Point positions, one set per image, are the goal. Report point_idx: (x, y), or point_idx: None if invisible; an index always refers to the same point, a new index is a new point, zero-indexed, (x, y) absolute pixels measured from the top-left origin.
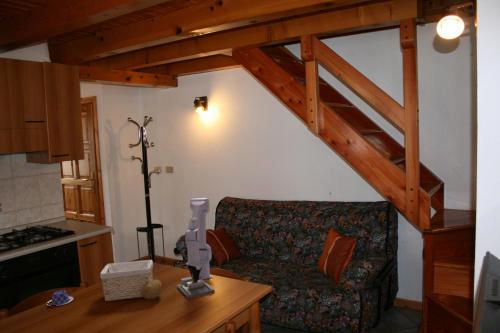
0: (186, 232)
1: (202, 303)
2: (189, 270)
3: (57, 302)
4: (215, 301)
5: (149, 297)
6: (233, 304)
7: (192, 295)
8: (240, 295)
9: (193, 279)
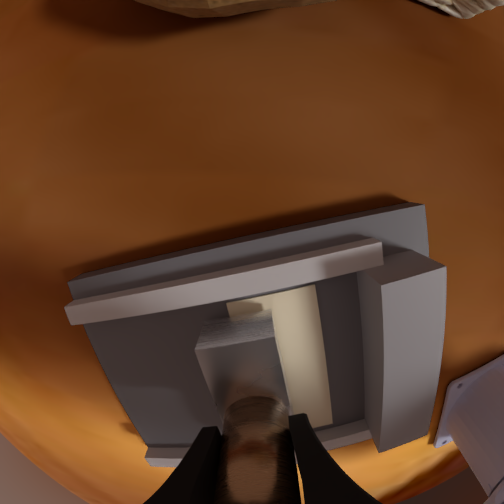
0: None
1: (20, 349)
2: (343, 490)
3: None
4: (45, 411)
5: None
6: (28, 444)
7: (86, 324)
8: (113, 496)
9: (228, 432)
